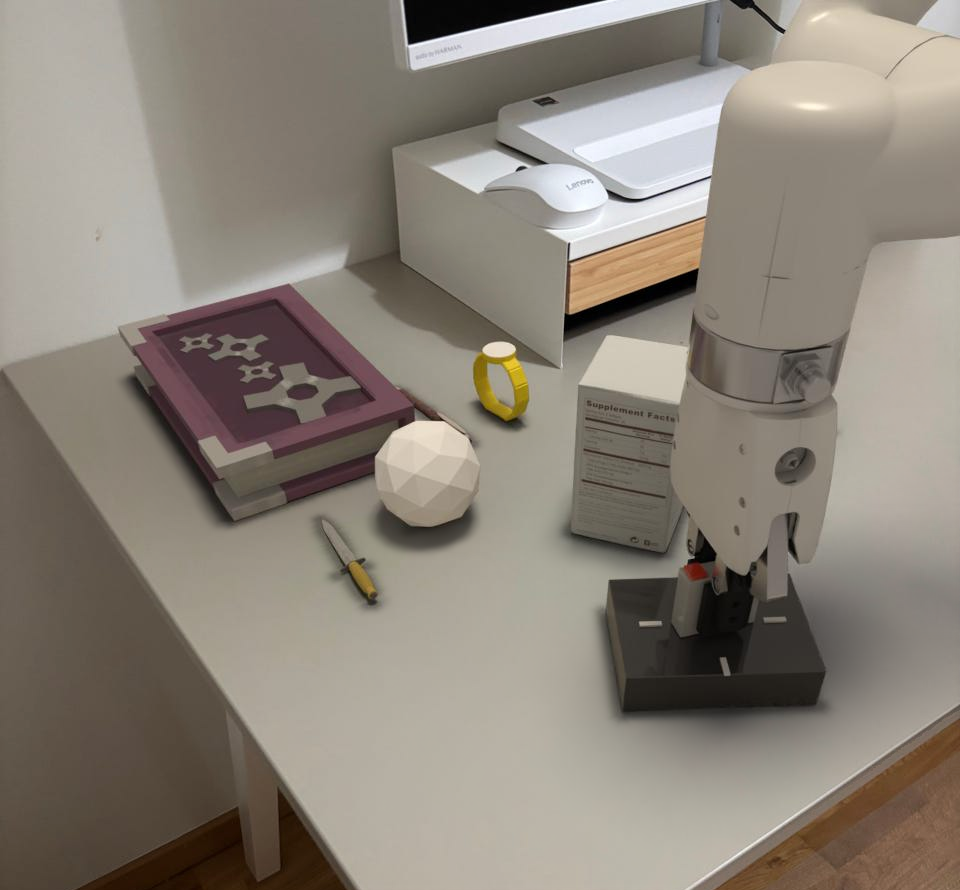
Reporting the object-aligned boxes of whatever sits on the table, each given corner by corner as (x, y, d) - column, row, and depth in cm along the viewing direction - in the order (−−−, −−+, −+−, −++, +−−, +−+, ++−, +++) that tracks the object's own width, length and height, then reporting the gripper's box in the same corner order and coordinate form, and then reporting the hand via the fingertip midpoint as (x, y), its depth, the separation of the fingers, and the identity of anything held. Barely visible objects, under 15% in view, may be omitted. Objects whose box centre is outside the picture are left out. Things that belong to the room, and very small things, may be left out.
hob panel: (781, 605, 69) (790, 570, 67) (817, 706, 63) (828, 670, 61) (605, 611, 69) (608, 576, 67) (622, 712, 63) (626, 677, 60)
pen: (475, 444, 84) (474, 434, 84) (467, 448, 84) (467, 437, 83) (398, 389, 91) (397, 379, 90) (390, 392, 91) (390, 382, 90)
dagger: (308, 520, 77) (331, 508, 77) (312, 529, 77) (335, 517, 78) (358, 598, 69) (384, 584, 70) (363, 607, 70) (388, 594, 70)
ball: (435, 526, 81) (467, 428, 79) (476, 551, 74) (512, 444, 72) (347, 501, 77) (378, 398, 75) (382, 525, 70) (417, 413, 69)
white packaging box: (595, 479, 80) (606, 330, 71) (688, 498, 78) (711, 348, 69) (566, 534, 75) (574, 382, 66) (665, 556, 73) (686, 402, 64)
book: (132, 377, 93) (117, 326, 89) (296, 331, 99) (288, 282, 95) (229, 523, 77) (216, 468, 74) (418, 458, 83) (414, 404, 79)
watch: (535, 422, 86) (537, 358, 82) (510, 433, 85) (510, 369, 81) (492, 393, 90) (491, 330, 85) (467, 404, 88) (464, 341, 84)
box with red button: (743, 606, 65) (756, 548, 61) (754, 622, 64) (767, 564, 60) (670, 622, 64) (679, 564, 61) (680, 638, 63) (689, 580, 60)
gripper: (920, 418, 46) (830, 694, 59) (762, 272, 57) (715, 532, 70) (768, 445, 45) (710, 721, 57) (636, 290, 56) (612, 552, 68)
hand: (713, 616), depth 63 cm, fingers closed
